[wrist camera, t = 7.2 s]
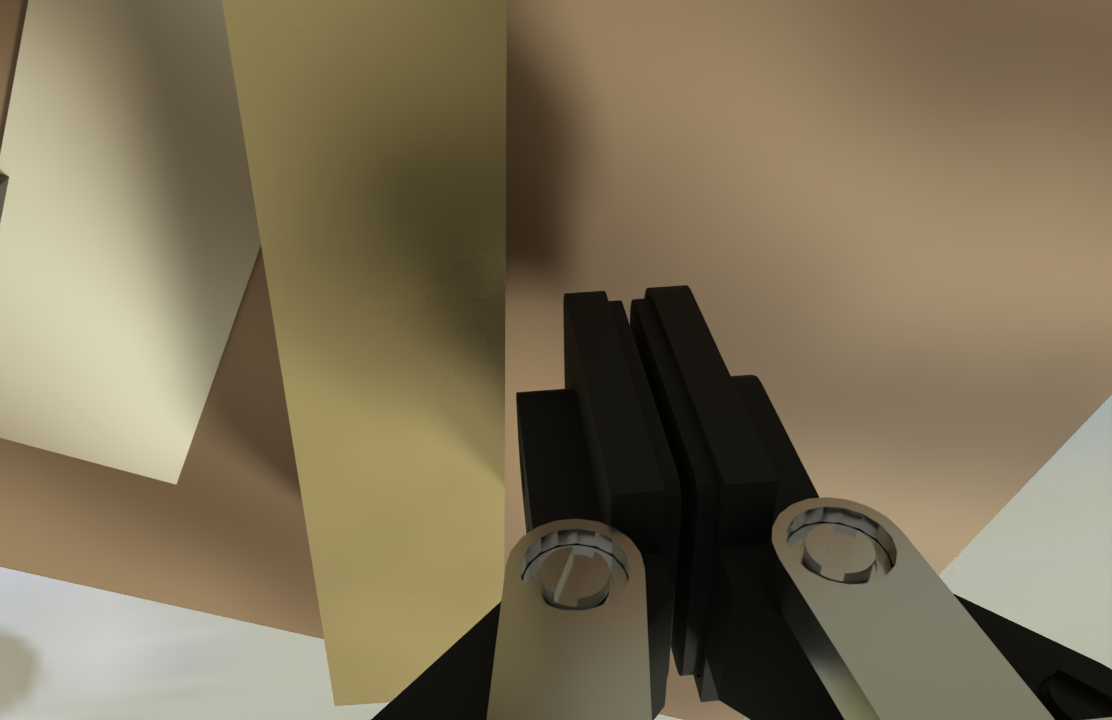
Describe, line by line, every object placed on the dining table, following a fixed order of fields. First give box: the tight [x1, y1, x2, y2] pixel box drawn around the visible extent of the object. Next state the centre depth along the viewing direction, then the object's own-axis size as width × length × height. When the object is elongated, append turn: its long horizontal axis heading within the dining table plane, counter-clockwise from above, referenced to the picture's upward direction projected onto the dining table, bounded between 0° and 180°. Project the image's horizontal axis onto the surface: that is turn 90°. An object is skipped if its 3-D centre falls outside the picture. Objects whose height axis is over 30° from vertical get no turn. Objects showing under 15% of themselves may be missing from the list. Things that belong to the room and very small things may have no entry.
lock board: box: [0, 0, 1112, 720], centre depth 13 cm, size 19×20×6 cm
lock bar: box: [222, 0, 507, 706], centre depth 10 cm, size 16×3×4 cm, turn 178°
